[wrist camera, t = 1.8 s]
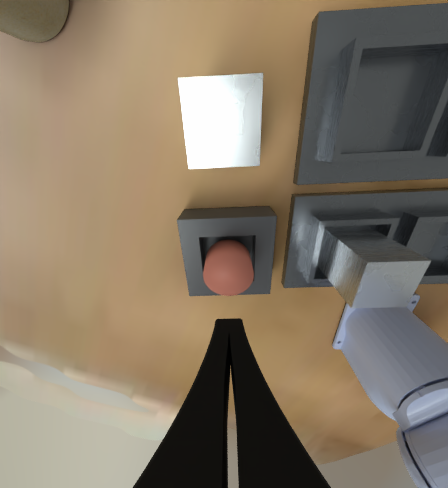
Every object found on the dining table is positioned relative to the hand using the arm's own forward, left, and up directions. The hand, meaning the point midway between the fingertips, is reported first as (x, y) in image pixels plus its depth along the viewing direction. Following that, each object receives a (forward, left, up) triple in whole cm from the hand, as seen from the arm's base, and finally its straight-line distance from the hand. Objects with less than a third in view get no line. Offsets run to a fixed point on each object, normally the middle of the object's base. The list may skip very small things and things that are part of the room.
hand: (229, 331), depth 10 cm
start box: (0, 0, -10) cm, 10 cm away
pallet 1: (+11, -15, -10) cm, 21 cm away
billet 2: (0, -11, -9) cm, 14 cm away
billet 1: (+10, 0, -10) cm, 14 cm away
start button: (0, 0, -8) cm, 8 cm away
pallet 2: (0, -15, -10) cm, 18 cm away
